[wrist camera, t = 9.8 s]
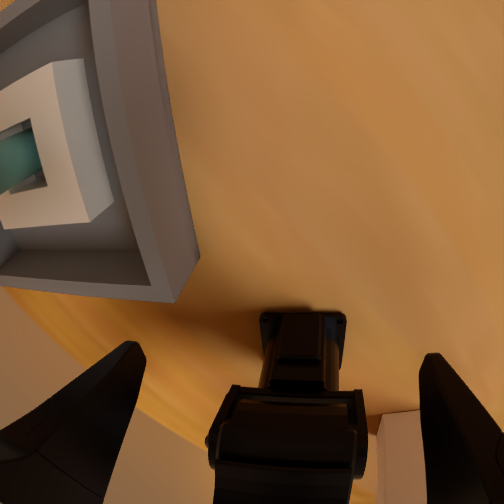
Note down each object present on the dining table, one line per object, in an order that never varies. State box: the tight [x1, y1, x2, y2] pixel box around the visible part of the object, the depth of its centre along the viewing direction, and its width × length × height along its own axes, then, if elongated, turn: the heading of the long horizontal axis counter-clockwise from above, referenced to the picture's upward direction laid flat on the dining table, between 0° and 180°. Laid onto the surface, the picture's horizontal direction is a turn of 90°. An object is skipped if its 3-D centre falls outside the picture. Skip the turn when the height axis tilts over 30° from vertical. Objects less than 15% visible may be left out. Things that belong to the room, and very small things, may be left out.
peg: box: [0, 127, 43, 195], centre depth 15 cm, size 3×3×9 cm
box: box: [0, 0, 200, 303], centre depth 17 cm, size 20×20×5 cm
